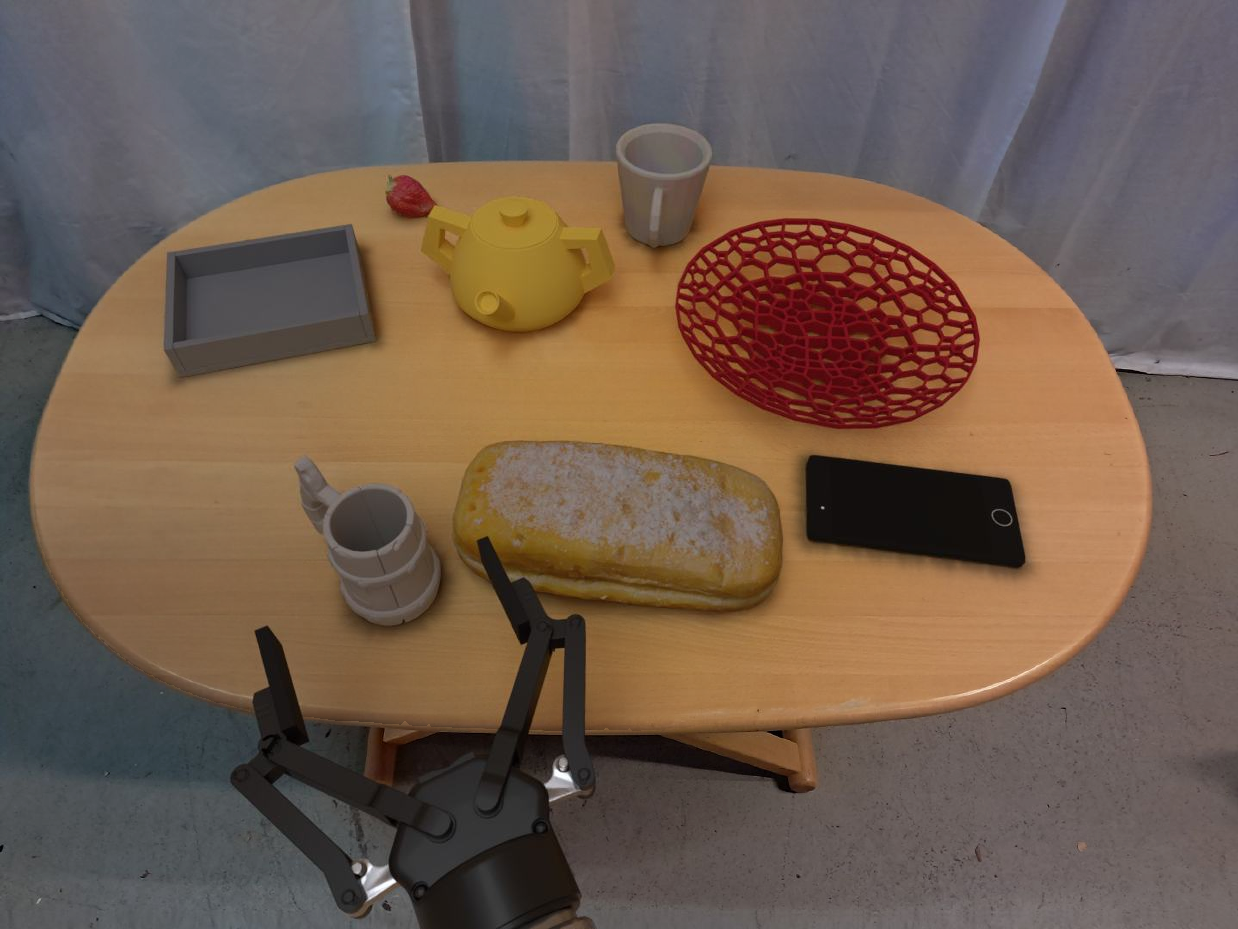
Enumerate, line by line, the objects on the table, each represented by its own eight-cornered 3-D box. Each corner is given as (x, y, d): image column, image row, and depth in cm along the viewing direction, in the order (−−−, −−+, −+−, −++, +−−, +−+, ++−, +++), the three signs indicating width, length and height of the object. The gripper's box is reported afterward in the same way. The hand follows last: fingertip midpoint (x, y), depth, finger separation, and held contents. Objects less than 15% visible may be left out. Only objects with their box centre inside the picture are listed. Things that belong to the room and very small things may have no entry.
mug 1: (396, 648, 61) (361, 570, 51) (289, 569, 65) (238, 483, 55) (463, 576, 65) (442, 491, 55) (358, 506, 69) (321, 414, 59)
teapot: (396, 355, 80) (372, 266, 71) (449, 241, 91) (434, 152, 82) (594, 382, 78) (595, 295, 69) (623, 263, 89) (627, 175, 80)
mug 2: (704, 204, 96) (715, 126, 88) (697, 285, 87) (708, 207, 79) (618, 195, 97) (621, 117, 89) (602, 276, 88) (603, 196, 80)
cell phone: (1022, 569, 67) (1027, 564, 66) (806, 541, 68) (808, 535, 67) (1006, 484, 72) (1010, 478, 71) (805, 459, 73) (807, 453, 72)
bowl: (991, 469, 73) (1015, 434, 69) (670, 452, 73) (675, 416, 69) (929, 262, 91) (945, 224, 87) (671, 248, 91) (675, 210, 87)
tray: (180, 378, 77) (163, 349, 74) (181, 281, 85) (166, 252, 82) (376, 341, 81) (368, 313, 78) (359, 252, 89) (351, 223, 86)
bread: (473, 469, 71) (462, 411, 65) (769, 489, 71) (787, 432, 65) (444, 605, 63) (428, 553, 57) (779, 627, 63) (800, 578, 57)
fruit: (432, 226, 92) (425, 188, 88) (382, 220, 92) (372, 182, 89) (442, 204, 95) (436, 166, 91) (393, 199, 95) (384, 161, 91)
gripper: (275, 1100, 37) (193, 703, 49) (728, 837, 45) (566, 545, 56) (213, 1106, 31) (137, 652, 43) (748, 801, 39) (563, 482, 50)
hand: (380, 591), depth 49 cm, fingers open, 13 cm apart
